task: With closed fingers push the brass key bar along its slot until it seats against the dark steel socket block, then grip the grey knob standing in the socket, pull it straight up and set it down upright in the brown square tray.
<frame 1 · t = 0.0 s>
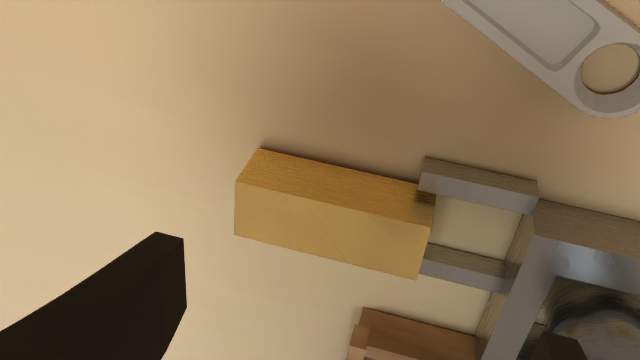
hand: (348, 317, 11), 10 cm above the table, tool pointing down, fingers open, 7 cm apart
key bar: (334, 211, 21), point 1 cm above the table, slide at 3.0 cm
socket block: (590, 293, 22), on the table
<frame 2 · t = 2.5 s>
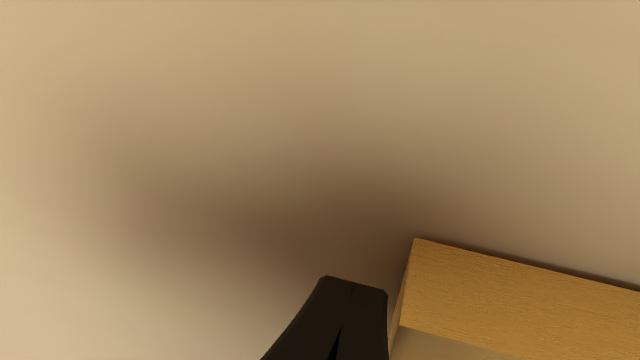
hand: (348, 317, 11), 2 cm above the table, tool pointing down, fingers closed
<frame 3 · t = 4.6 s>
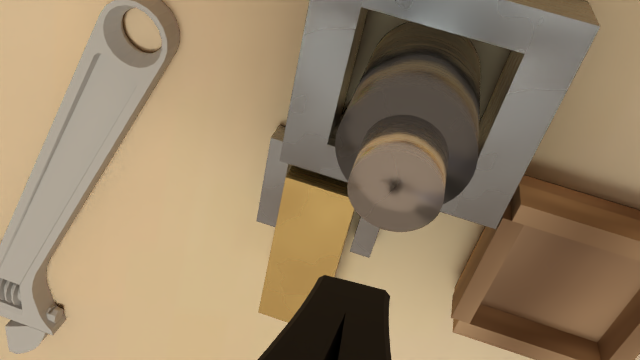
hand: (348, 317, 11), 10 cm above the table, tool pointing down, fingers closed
grey knob: (411, 123, 16), in the socket block
adjustable wrench: (71, 210, 27), on the table
key bar: (310, 241, 22), point 1 cm above the table, slide at 0.0 cm
brown square tray: (559, 259, 21), on the table
socket block: (423, 74, 18), on the table
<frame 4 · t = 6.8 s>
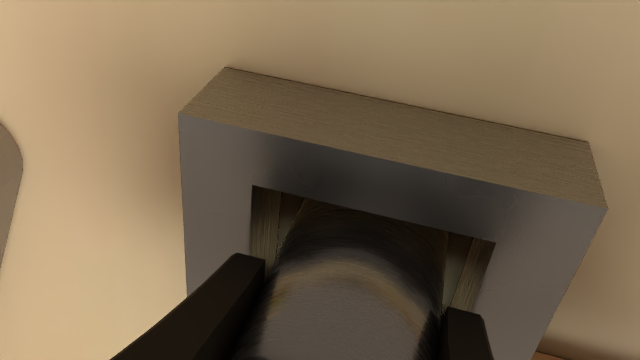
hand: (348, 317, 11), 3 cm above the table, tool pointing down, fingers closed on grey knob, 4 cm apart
grey knob: (339, 346, 11), in the socket block, touching gripper
socket block: (371, 233, 13), on the table
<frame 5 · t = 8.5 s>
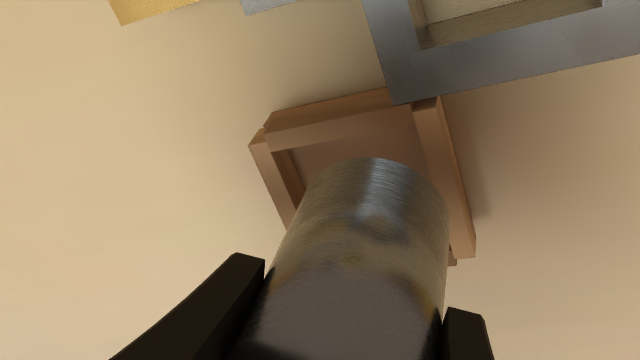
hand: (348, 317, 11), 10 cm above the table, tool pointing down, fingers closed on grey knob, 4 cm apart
grey knob: (343, 332, 11), point 10 cm above the table, touching gripper
brown square tray: (373, 167, 21), on the table
when the fingers open (5 cm above the table, at t = 10.1 s): grey knob stays where it is, resting on brown square tray.
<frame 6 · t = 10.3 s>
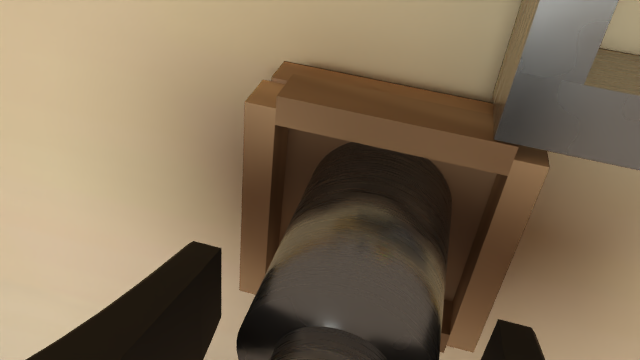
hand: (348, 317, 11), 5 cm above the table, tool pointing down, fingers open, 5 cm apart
grey knob: (351, 301, 11), in the brown square tray, point 4 cm above the table
brown square tray: (383, 187, 15), on the table
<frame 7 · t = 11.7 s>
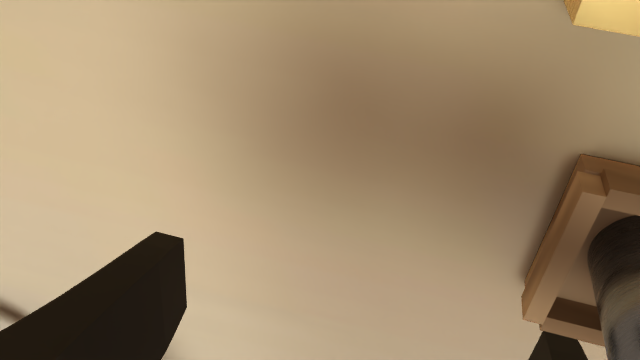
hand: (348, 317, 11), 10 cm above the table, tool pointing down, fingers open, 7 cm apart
brown square tray: (636, 242, 20), on the table
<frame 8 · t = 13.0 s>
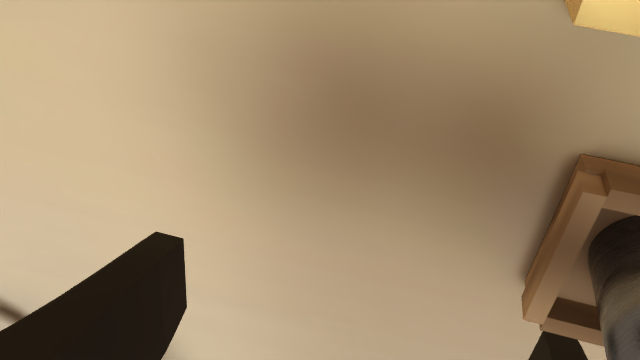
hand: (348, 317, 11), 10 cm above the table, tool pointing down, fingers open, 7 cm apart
brown square tray: (636, 242, 20), on the table
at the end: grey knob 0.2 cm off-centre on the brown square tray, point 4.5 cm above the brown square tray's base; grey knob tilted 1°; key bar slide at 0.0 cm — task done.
